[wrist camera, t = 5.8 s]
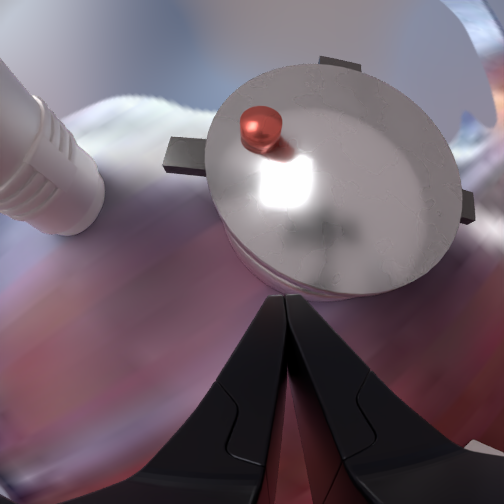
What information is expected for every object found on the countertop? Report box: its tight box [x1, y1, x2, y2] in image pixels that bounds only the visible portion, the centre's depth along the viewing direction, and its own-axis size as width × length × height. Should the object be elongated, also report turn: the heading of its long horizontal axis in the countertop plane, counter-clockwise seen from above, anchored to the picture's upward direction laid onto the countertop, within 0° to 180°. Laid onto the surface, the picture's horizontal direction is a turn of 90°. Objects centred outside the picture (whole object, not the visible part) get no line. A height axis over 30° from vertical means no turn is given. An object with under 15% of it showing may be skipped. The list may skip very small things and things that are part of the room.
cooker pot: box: [163, 56, 475, 302], centre depth 20 cm, size 16×20×5 cm
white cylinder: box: [0, 58, 105, 236], centre depth 15 cm, size 7×7×15 cm
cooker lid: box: [205, 64, 462, 297], centre depth 15 cm, size 14×14×2 cm
